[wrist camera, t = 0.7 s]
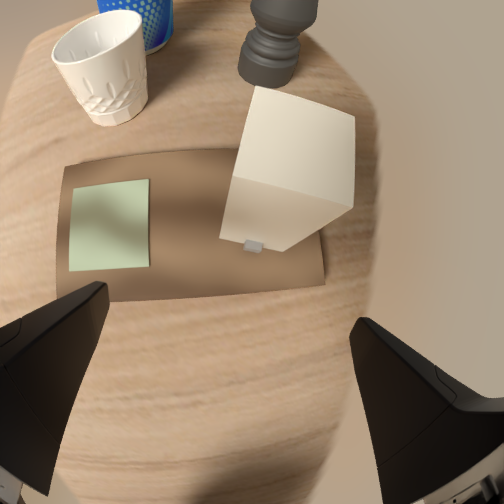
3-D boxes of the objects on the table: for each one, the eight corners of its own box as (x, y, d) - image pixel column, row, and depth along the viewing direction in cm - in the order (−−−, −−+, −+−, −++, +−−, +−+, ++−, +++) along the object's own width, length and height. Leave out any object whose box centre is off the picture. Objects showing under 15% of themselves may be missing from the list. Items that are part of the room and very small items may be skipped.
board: (318, 286, 23) (353, 281, 17) (65, 303, 19) (26, 302, 13) (299, 157, 25) (323, 122, 19) (71, 173, 21) (42, 142, 15)
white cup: (111, 145, 22) (76, 75, 12) (73, 112, 22) (39, 52, 12) (169, 95, 24) (161, 19, 14) (125, 69, 24) (110, 4, 14)
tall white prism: (281, 259, 21) (352, 221, 10) (217, 245, 21) (228, 190, 10) (292, 187, 22) (354, 108, 12) (234, 172, 22) (257, 77, 11)
